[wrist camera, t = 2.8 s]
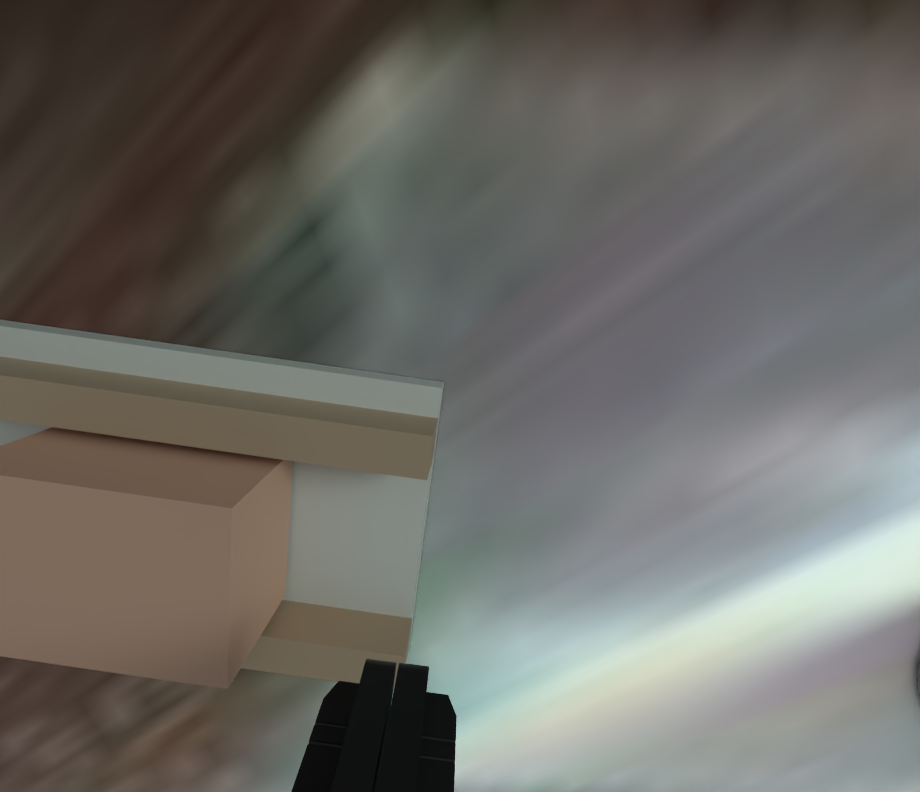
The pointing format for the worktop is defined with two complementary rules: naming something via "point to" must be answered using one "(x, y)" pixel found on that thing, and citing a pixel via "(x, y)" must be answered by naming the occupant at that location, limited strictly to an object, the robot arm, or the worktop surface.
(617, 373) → the worktop surface
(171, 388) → the chute
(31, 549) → the block
